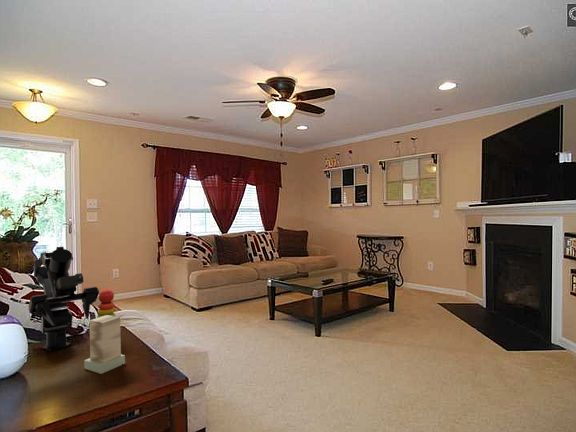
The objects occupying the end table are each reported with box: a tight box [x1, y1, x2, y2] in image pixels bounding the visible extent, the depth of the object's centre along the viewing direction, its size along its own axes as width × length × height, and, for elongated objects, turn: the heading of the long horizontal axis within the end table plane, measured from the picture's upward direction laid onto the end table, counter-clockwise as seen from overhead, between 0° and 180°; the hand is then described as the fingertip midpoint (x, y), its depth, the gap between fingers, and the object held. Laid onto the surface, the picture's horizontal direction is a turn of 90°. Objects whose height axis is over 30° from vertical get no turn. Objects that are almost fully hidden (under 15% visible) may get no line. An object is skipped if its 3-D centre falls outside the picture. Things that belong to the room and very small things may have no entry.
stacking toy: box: [96, 289, 116, 318], centre depth 131 cm, size 8×8×19 cm
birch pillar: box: [88, 315, 122, 363], centre depth 110 cm, size 6×6×12 cm
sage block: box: [83, 353, 126, 375], centre depth 110 cm, size 8×8×3 cm
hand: (71, 321), depth 110 cm, fingers open, 9 cm apart
